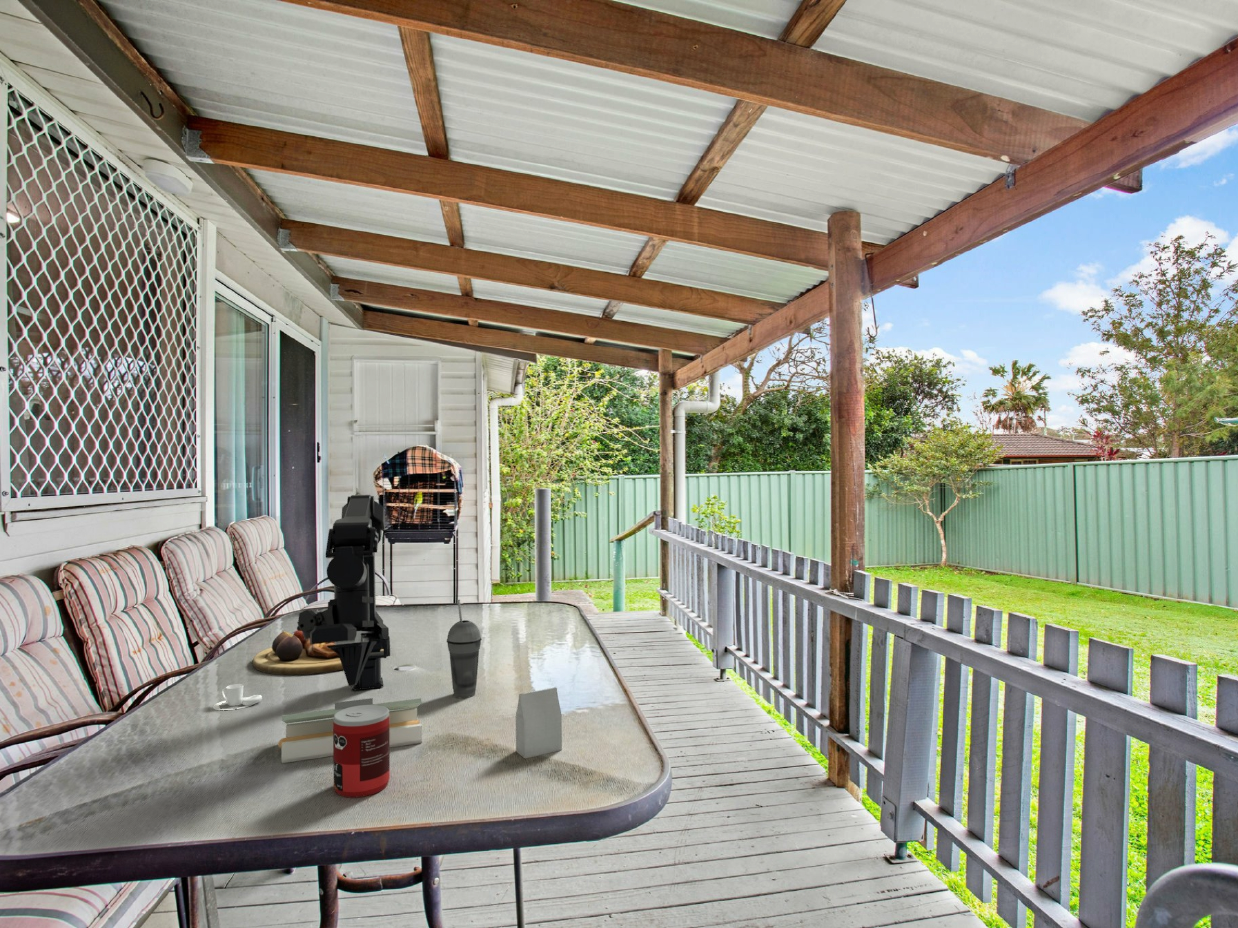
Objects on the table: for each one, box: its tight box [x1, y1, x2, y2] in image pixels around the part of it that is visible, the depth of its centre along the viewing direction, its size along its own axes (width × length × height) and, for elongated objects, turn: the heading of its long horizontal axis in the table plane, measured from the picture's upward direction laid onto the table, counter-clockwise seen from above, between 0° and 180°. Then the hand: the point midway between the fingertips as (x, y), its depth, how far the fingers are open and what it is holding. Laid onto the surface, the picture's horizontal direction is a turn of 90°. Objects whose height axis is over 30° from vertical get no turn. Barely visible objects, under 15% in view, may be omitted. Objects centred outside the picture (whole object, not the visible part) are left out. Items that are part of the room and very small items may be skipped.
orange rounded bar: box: [277, 719, 421, 750], centre depth 121 cm, size 2×23×2 cm, turn 111°
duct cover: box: [281, 697, 422, 725], centre depth 122 cm, size 10×22×2 cm, turn 111°
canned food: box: [332, 705, 391, 798], centre depth 104 cm, size 8×8×11 cm
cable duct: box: [281, 707, 423, 764], centre depth 121 cm, size 10×22×3 cm, turn 111°
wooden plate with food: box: [252, 629, 384, 676], centre depth 178 cm, size 32×32×8 cm
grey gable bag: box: [515, 686, 563, 759], centre depth 117 cm, size 4×7×10 cm, turn 121°
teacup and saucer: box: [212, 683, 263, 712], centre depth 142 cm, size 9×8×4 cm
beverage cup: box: [446, 599, 483, 699], centre depth 147 cm, size 7×7×20 cm
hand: (352, 685), depth 118 cm, fingers closed
